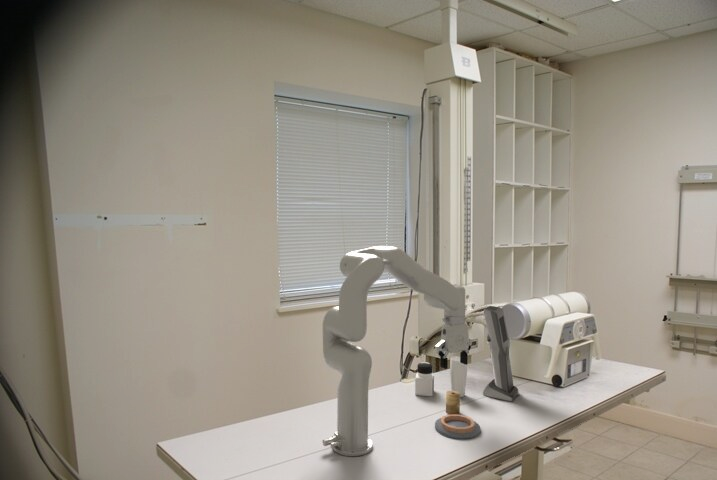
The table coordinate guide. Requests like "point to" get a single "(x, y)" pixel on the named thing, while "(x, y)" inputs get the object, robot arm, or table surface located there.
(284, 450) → the table surface
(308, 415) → the table surface
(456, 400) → the wooden bead
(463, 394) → the drinking glass
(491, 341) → the thermal camera
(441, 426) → the ring tray
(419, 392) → the medicine bottle
